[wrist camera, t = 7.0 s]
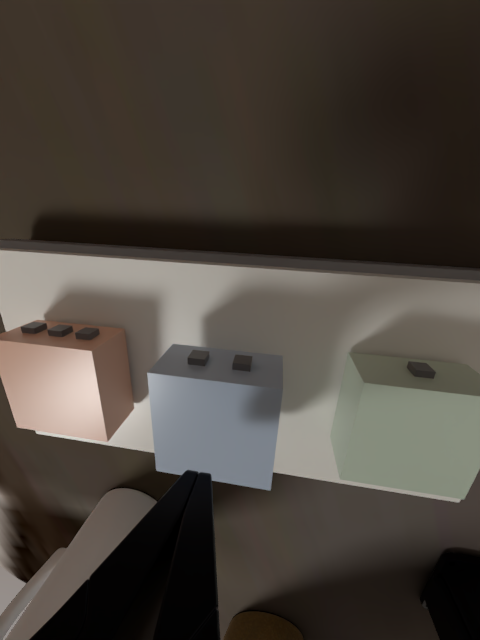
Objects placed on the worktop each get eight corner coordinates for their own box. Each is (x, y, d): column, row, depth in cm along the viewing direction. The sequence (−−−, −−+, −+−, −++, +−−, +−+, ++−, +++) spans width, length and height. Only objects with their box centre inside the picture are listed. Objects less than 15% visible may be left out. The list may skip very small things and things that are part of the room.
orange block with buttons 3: (123, 323, 13) (90, 344, 11) (134, 408, 15) (107, 442, 13) (35, 314, 14) (-14, 332, 12) (56, 397, 16) (17, 427, 13)
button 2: (283, 349, 11) (283, 382, 9) (272, 443, 13) (270, 490, 11) (172, 337, 12) (146, 365, 10) (177, 429, 14) (156, 470, 11)
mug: (154, 481, 21) (14, 767, 10) (182, 537, 23) (91, 826, 12) (56, 489, 24) (-146, 729, 12) (89, 539, 26) (-59, 784, 14)
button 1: (469, 358, 11) (517, 393, 9) (431, 450, 13) (464, 499, 11) (349, 346, 12) (365, 376, 10) (330, 436, 14) (339, 479, 11)
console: (515, 268, 12) (570, 279, 10) (434, 463, 17) (459, 502, 14) (24, 238, 15) (-21, 240, 13) (64, 408, 20) (36, 433, 17)
